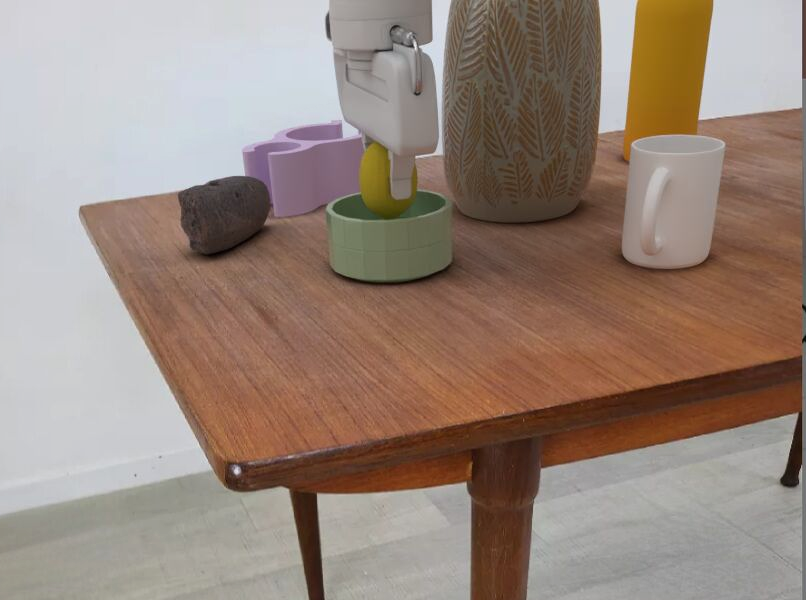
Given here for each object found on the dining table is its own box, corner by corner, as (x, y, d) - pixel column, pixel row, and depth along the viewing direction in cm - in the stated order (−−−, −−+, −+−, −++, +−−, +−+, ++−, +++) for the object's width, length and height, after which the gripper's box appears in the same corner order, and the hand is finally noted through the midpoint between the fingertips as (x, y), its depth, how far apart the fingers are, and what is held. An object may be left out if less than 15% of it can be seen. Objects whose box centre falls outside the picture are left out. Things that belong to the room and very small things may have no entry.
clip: (304, 221, 109) (298, 157, 105) (225, 209, 115) (217, 149, 111) (402, 182, 122) (399, 124, 118) (326, 174, 128) (322, 118, 124)
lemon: (374, 214, 94) (369, 127, 90) (426, 217, 92) (424, 128, 88) (353, 230, 90) (346, 139, 85) (407, 232, 88) (404, 141, 84)
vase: (449, 233, 102) (447, -66, 87) (436, 194, 116) (432, -69, 101) (608, 223, 102) (634, -77, 87) (575, 185, 116) (593, -79, 101)
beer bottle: (607, 160, 126) (628, -105, 110) (652, 148, 131) (679, -108, 114) (662, 170, 120) (694, -109, 104) (708, 158, 124) (745, -112, 108)
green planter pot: (429, 242, 100) (428, 183, 96) (469, 276, 90) (470, 211, 86) (319, 257, 97) (313, 197, 94) (348, 294, 88) (343, 228, 84)
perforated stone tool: (253, 222, 110) (245, 159, 106) (291, 227, 107) (284, 162, 103) (170, 260, 99) (158, 191, 95) (210, 266, 97) (200, 195, 93)
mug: (683, 287, 84) (700, 165, 78) (595, 276, 88) (604, 159, 82) (718, 249, 93) (735, 136, 87) (636, 241, 96) (647, 132, 90)
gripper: (456, 28, 74) (458, 211, 82) (383, 11, 90) (390, 164, 98) (379, 36, 73) (388, 220, 80) (319, 17, 89) (332, 171, 97)
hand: (389, 189), depth 89 cm, fingers closed on lemon, 5 cm apart
